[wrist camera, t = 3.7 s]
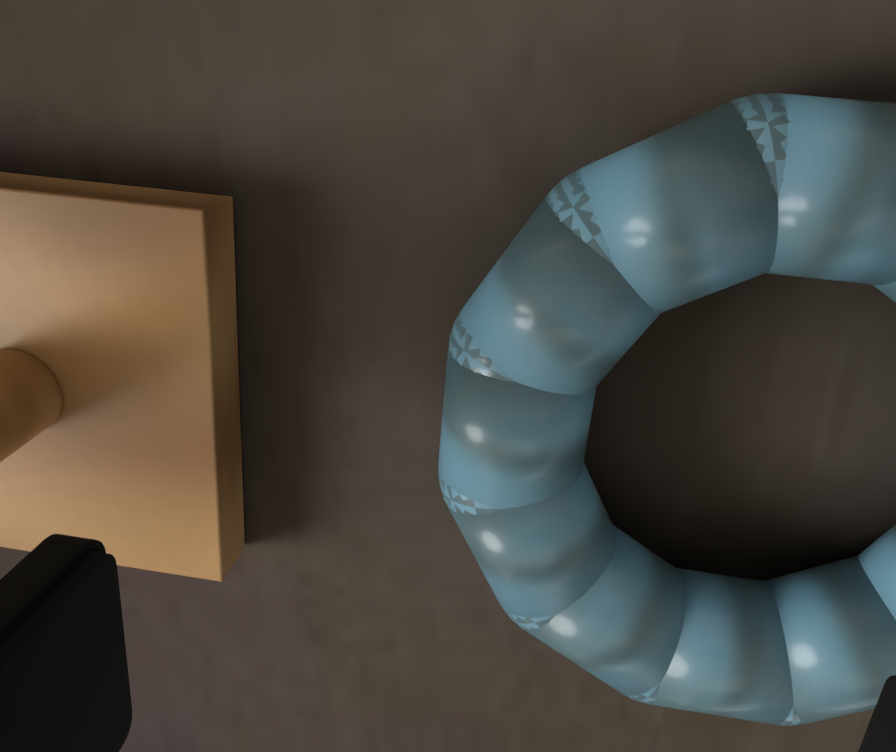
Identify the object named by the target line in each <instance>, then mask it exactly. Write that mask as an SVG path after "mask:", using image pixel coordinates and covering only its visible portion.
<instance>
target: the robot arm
mask: <svg viewBox="0 0 896 752" xmlns="http://www.w3.org/2000/svg"><path fill="white" fill-rule="evenodd" d="M131 721H132V705H131V696H130V686H129V677H128V667H127V658H126V648H125V639H124V629H123V620H122V610H121V601H120V591H119V582H118V572H117V564H116V559H115V558H114V556H113V555H111V554H108V553H106V551H105V547H104V545H103V544H102V542H101V541H98V540H95V539H88V538H81V537H75V536H68V535H62V534H53V535H50V536H48V537H47V538H46V539H44V540H43V541H42V542H41V543H40V544H39V545H38V546H37V547H35V548H34V549H33V550H32V551H31V552H30V553H29V554H28V555H27V556H26V557H25V558H24V559H23V560H21V561H20V562H19V563H18V564H17V565H16V566H15V567H14V568H13V569H12V570H11V571H10V572H8V573H7V574H6V575H5V576H4V577H3V578H2V579H1V580H0V752H119V750H120V749H121V747H122V746H123V744H124V742H125V740H126V738H127V735H128V733H129V730H130V726H131ZM858 752H896V675H894V676H890V677H889V678H887V680H886V682H885V684H884V686H883V688H882V691H881V694H880V696H879V699H878V702H877V704H876V707H875V709H874V712H873V715H872V717H871V720H870V722H869V725H868V728H867V730H866V733H865V735H864V738H863V741H862V743H861V746H860V749H859V751H858Z"/></svg>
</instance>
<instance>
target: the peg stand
mask: <svg viewBox="0 0 896 752" xmlns="http://www.w3.org/2000/svg"><path fill="white" fill-rule="evenodd" d="M53 534H62V535H68V536H75V537H81V538H88V539H95V540H98V541H101V542H102V544H103V545H104V547H105V551H106V553H108V554H111V555H113V556H114V558H115V559H116V564H117V565H119V566H126V567H132V568H138V569H145V570H151V571H157V572H164V573H170V574H176V575H183V576H189V577H195V578H202V579H208V580H214V581H223V579H224V578H225V576H226V574H227V573H228V571H229V570H230V568H231V567H232V565H233V564H234V562H235V560H236V559H237V557H238V556H239V554H240V553H241V551H242V550H243V548H244V546H245V538H244V509H243V481H242V452H241V423H240V395H239V366H238V337H237V309H236V280H235V251H234V223H233V198H232V197H230V196H223V195H213V194H204V193H194V192H185V191H175V190H166V189H157V188H147V187H138V186H128V185H119V184H110V183H100V182H91V181H81V180H72V179H63V178H53V177H44V176H34V175H25V174H16V173H6V172H0V547H5V548H11V549H18V550H24V551H30V552H31V551H32V550H33V549H34V548H35V547H37V546H38V545H39V544H40V543H41V542H42V541H43V540H44V539H46V538H47V537H48V536H50V535H53Z"/></svg>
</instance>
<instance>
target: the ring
mask: <svg viewBox="0 0 896 752" xmlns="http://www.w3.org/2000/svg"><path fill="white" fill-rule="evenodd" d="M764 273H770V274H779V275H788V276H797V277H806V278H816V279H825V280H834V281H843V282H852V283H862V284H871V285H873V286H874V287H876V288H877V289H878V290H880V291H881V292H882V293H883V294H885V295H886V296H887V297H889V298H890V299H891V300H893V301H894V302H895V303H896V103H888V102H876V101H864V100H853V99H841V98H830V97H818V96H807V95H795V94H783V93H759V94H754V95H748V96H743V97H740V98H736V99H734V100H731V101H729V102H726V103H723V104H721V105H719V106H717V107H715V108H712V109H710V110H708V111H706V112H704V113H701V114H699V115H697V116H695V117H692V118H690V119H688V120H686V121H684V122H681V123H679V124H677V125H675V126H673V127H670V128H668V129H666V130H664V131H661V132H659V133H657V134H655V135H653V136H650V137H648V138H646V139H644V140H641V141H639V142H637V143H635V144H633V145H630V146H628V147H626V148H624V149H622V150H619V151H617V152H615V153H613V154H610V155H608V156H606V157H604V158H602V159H599V160H597V161H595V162H593V163H591V164H588V165H586V166H584V167H582V168H580V169H578V170H576V171H574V172H572V173H570V174H569V175H568V176H566V177H565V178H564V179H562V180H561V181H560V182H558V183H557V184H556V185H555V186H554V187H553V188H552V189H551V191H550V192H549V193H548V194H547V195H546V196H545V198H544V199H543V200H542V202H541V203H540V204H539V206H538V207H537V208H536V210H535V211H534V212H533V214H532V215H531V216H530V218H529V219H528V220H527V222H526V223H525V225H524V226H523V227H522V229H521V230H520V231H519V233H518V234H517V235H516V237H515V238H514V239H513V241H512V242H511V243H510V245H509V246H508V247H507V249H506V250H505V251H504V253H503V254H502V256H501V257H500V258H499V260H498V261H497V262H496V264H495V265H494V266H493V268H492V269H491V270H490V272H489V273H488V274H487V276H486V277H485V278H484V280H483V281H482V282H481V284H480V285H479V287H478V288H477V289H476V291H475V292H474V293H473V295H472V296H471V297H470V299H469V300H468V301H467V303H466V304H465V305H464V307H463V308H462V310H461V312H460V313H459V315H458V316H457V318H456V320H455V322H454V325H453V327H452V330H451V334H450V339H449V345H448V353H447V365H446V378H445V390H444V402H443V415H442V427H441V439H440V451H439V464H438V470H439V471H438V476H439V482H440V487H441V491H442V494H443V497H444V500H445V501H446V504H447V506H448V508H449V510H450V512H451V513H452V515H453V517H454V519H455V521H456V523H457V525H458V527H459V529H460V530H461V532H462V534H463V536H464V538H465V540H466V542H467V544H468V545H469V547H470V549H471V551H472V553H473V555H474V557H475V559H476V560H477V562H478V564H479V566H480V568H481V570H482V572H483V574H484V575H485V577H486V579H487V581H488V583H489V585H490V587H491V589H492V590H493V592H494V594H495V596H496V598H497V600H498V602H499V603H500V605H501V607H502V608H503V609H504V611H505V612H506V613H507V615H508V616H509V617H510V618H511V619H512V621H514V622H515V623H516V624H517V625H518V626H520V627H521V628H522V629H524V630H525V631H527V632H528V633H530V634H531V635H533V636H534V637H536V638H537V639H539V640H541V641H542V642H544V643H545V644H547V645H548V646H550V647H551V648H553V649H554V650H556V651H557V652H559V653H560V654H562V655H563V656H565V657H567V658H568V659H570V660H571V661H573V662H574V663H576V664H577V665H579V666H580V667H582V668H583V669H585V670H586V671H588V672H589V673H591V674H592V675H594V676H596V677H597V678H599V679H600V680H602V681H603V682H605V683H606V684H608V685H609V686H611V687H612V688H614V689H615V690H617V691H618V692H620V693H621V694H623V695H625V696H628V697H630V698H632V699H634V700H636V701H639V702H643V703H646V704H650V705H656V706H663V707H669V708H675V709H681V710H687V711H693V712H699V713H705V714H711V715H717V716H723V717H729V718H736V719H742V720H748V721H754V722H760V723H766V724H772V725H782V726H793V725H802V724H807V723H812V722H816V721H821V720H825V719H830V718H835V717H839V716H844V715H849V714H853V713H858V712H863V711H867V710H872V709H875V707H876V704H877V702H878V699H879V696H880V694H881V691H882V688H883V686H884V684H885V682H886V680H887V678H889V677H890V676H894V675H896V524H895V525H894V526H893V527H892V528H890V529H889V530H888V531H887V532H885V533H884V534H883V535H882V536H881V537H879V538H878V539H877V540H876V541H875V542H873V543H872V544H871V545H870V546H869V547H867V548H866V549H865V550H864V551H863V552H861V553H860V554H859V555H857V556H854V557H850V558H846V559H843V560H839V561H835V562H832V563H828V564H824V565H820V566H817V567H813V568H809V569H806V570H802V571H798V572H795V573H791V574H787V575H784V576H780V577H776V578H773V579H769V580H765V581H763V580H756V579H749V578H742V577H735V576H728V575H722V574H715V573H708V572H701V571H694V570H688V569H681V568H675V567H674V566H673V565H671V564H670V563H668V562H667V561H665V560H664V559H662V558H661V557H659V556H658V555H656V554H655V553H654V552H652V551H651V550H649V549H648V548H646V547H645V546H643V545H642V544H640V543H639V542H637V541H636V540H635V539H633V538H632V537H630V536H629V535H627V534H626V533H624V532H623V531H621V530H620V529H618V528H617V527H616V526H614V525H613V524H612V522H611V520H610V518H609V516H608V514H607V511H606V509H605V507H604V505H603V503H602V501H601V498H600V496H599V494H598V492H597V490H596V487H595V485H594V483H593V481H592V479H591V477H590V474H589V472H588V470H587V468H586V466H585V463H584V458H585V452H586V446H587V440H588V434H589V428H590V422H591V416H592V410H593V404H594V398H595V392H596V386H597V385H598V384H599V383H600V382H601V381H602V380H603V378H604V377H605V376H606V375H607V374H608V373H609V372H610V370H611V369H612V368H613V367H614V366H615V365H616V364H617V362H618V361H619V360H620V359H621V358H622V357H623V356H624V354H625V353H626V352H627V351H628V350H629V349H630V348H631V346H632V345H633V344H634V343H635V342H636V341H637V340H638V338H639V337H640V336H641V335H642V334H643V333H644V332H645V330H646V329H647V328H648V327H649V326H650V325H651V324H652V322H653V321H654V320H655V319H656V318H657V317H658V316H659V315H660V313H663V312H665V311H668V310H670V309H673V308H676V307H678V306H681V305H683V304H686V303H689V302H691V301H694V300H697V299H699V298H702V297H704V296H707V295H710V294H712V293H715V292H717V291H720V290H723V289H725V288H728V287H731V286H733V285H736V284H738V283H741V282H744V281H746V280H749V279H751V278H754V277H757V276H759V275H762V274H764Z"/></svg>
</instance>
